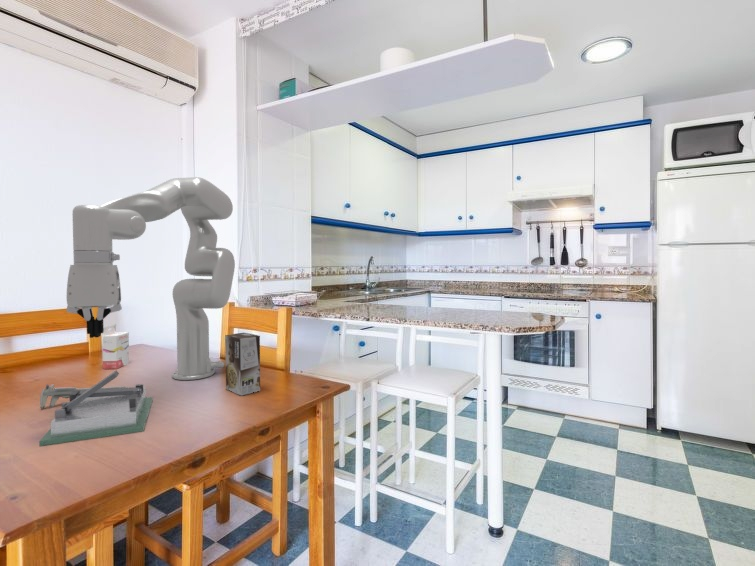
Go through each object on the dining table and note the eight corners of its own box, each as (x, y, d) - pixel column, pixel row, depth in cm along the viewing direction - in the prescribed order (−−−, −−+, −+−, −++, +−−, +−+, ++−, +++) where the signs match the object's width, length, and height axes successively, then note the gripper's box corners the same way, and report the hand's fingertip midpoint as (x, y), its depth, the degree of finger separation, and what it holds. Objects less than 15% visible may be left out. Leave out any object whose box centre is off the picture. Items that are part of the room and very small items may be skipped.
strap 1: (60, 416, 86) (56, 412, 86) (65, 411, 89) (61, 407, 88) (117, 377, 90) (113, 373, 90) (119, 373, 93) (115, 369, 92)
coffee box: (261, 391, 116) (260, 335, 116) (240, 396, 112) (240, 338, 111) (245, 384, 123) (244, 331, 122) (224, 389, 118) (224, 334, 117)
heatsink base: (152, 400, 108) (152, 378, 108) (143, 431, 88) (142, 403, 88) (70, 410, 101) (69, 386, 100) (39, 446, 81) (38, 416, 80)
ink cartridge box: (117, 369, 140) (116, 327, 139) (102, 369, 140) (101, 327, 139) (130, 363, 149) (129, 323, 148) (115, 363, 148) (114, 323, 147)
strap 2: (141, 391, 102) (142, 386, 102) (140, 394, 100) (140, 389, 100) (81, 394, 97) (81, 389, 97) (78, 398, 94) (78, 393, 94)
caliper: (41, 411, 101) (40, 386, 100) (40, 410, 101) (39, 385, 101) (130, 390, 117) (129, 369, 117) (128, 389, 118) (128, 368, 118)
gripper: (133, 259, 101) (134, 332, 102) (59, 258, 95) (61, 336, 96) (127, 259, 94) (129, 337, 95) (48, 258, 88) (50, 341, 89)
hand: (95, 336), depth 96 cm, fingers closed
